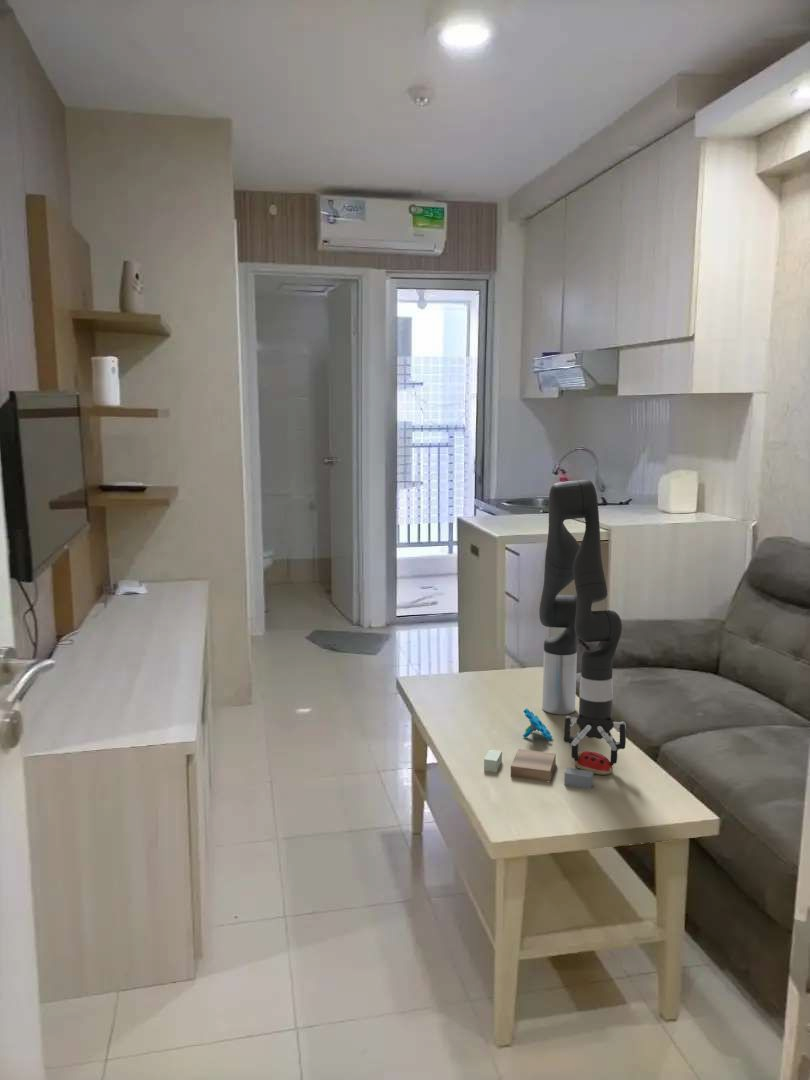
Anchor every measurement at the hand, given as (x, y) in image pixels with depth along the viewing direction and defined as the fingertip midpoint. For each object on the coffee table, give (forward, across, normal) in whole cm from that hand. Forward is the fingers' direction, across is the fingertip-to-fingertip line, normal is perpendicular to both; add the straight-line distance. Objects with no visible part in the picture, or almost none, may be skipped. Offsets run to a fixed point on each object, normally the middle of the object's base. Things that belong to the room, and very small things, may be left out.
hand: (593, 762), depth 188 cm
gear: (+2, +16, -16) cm, 22 cm away
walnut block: (+3, +14, +4) cm, 14 cm away
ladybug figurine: (+2, 0, -1) cm, 3 cm away
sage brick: (+2, +23, +5) cm, 24 cm away
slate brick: (+2, +2, +8) cm, 9 cm away
